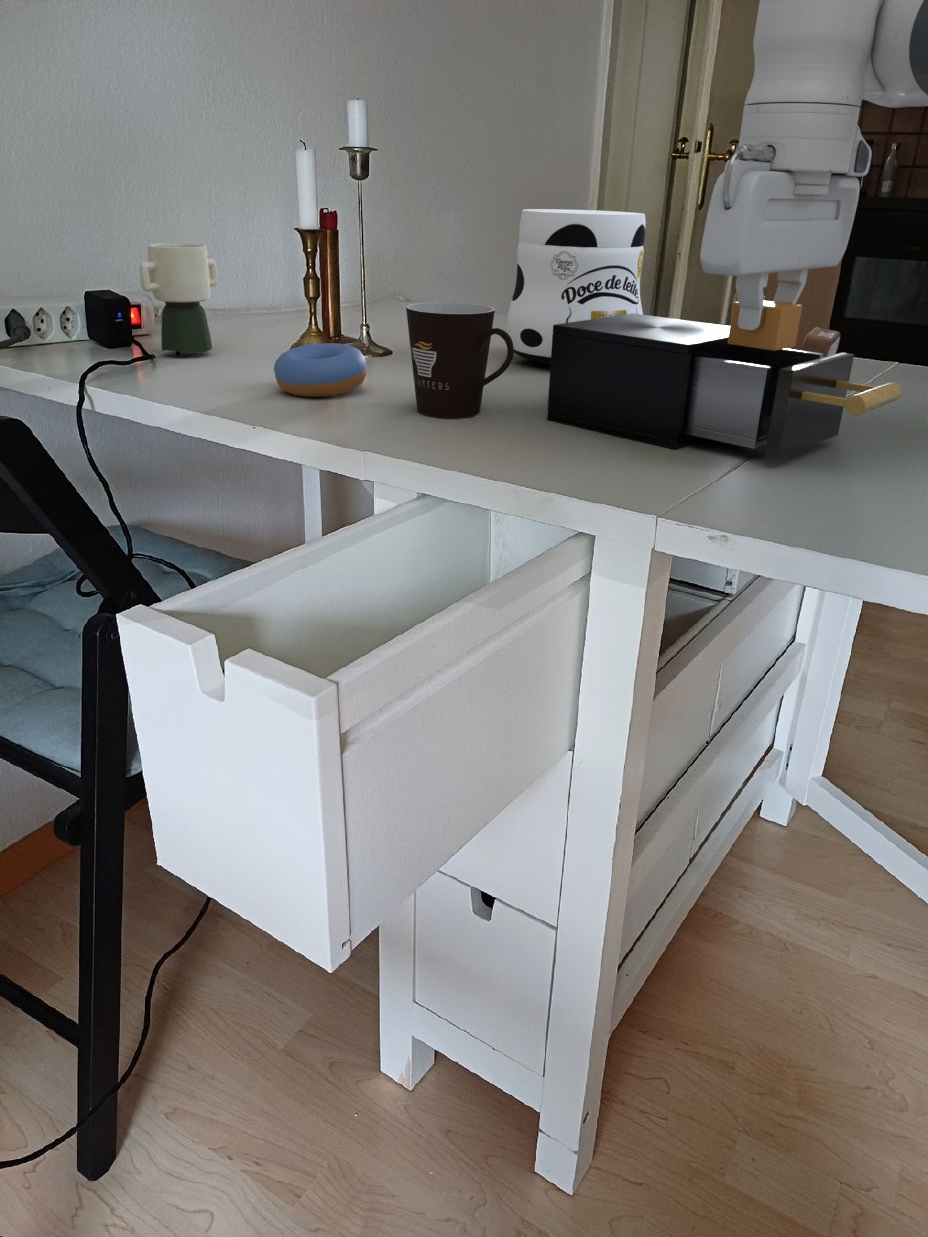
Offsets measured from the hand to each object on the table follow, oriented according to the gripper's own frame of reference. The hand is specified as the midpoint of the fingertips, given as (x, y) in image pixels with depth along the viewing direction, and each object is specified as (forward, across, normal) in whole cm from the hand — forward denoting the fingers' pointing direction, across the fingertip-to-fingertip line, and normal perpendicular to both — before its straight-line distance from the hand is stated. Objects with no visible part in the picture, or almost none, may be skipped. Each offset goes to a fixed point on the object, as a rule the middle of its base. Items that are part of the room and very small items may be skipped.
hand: (764, 326), depth 81 cm
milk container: (+11, +21, +36) cm, 43 cm away
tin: (+11, +16, +2) cm, 20 cm away
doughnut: (+11, -15, +43) cm, 46 cm away
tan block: (+2, 0, 0) cm, 2 cm away
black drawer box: (+10, 0, +11) cm, 15 cm away
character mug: (+11, -14, +71) cm, 73 cm away
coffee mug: (+11, -12, +26) cm, 30 cm away
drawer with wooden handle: (+10, 0, -2) cm, 10 cm away
